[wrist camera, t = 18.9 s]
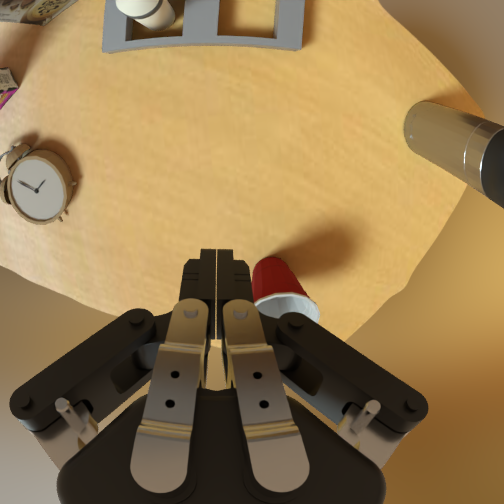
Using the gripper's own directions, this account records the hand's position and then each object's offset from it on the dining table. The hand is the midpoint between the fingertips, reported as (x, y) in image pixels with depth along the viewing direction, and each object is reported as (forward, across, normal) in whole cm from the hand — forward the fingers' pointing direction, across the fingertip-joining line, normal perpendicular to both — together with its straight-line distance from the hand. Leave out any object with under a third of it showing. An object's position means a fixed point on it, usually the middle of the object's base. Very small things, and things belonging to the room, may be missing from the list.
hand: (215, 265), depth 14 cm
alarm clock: (+28, +29, +5) cm, 41 cm away
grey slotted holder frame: (+28, +3, -18) cm, 33 cm away
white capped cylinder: (+28, +9, -17) cm, 34 cm away
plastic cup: (+29, -9, +21) cm, 37 cm away
